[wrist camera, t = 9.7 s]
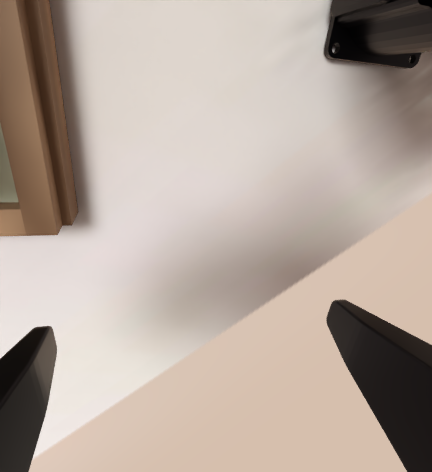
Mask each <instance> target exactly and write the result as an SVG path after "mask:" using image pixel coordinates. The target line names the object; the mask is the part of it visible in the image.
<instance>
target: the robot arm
mask: <svg viewBox="0 0 432 472" xmlns="http://www.w3.org/2000/svg"><path fill="white" fill-rule="evenodd" d="M331 15H332V16H331V20H330V25H329V30H328V34H327V39H326V44H325V49H324V52H325V55H326V57H327V58H330V59H337V60H345V61H352V62H360V63H367V64H375V65H382V66H390V67H397V68H413V67H414V66H415V65H416V64H417V63H418V61H419V58H420V55H421V52H429V51H432V0H333V1H332V6H331ZM334 44H335V46H336V50H335V52H334V53H333V52H332V46H333V45H334ZM410 56H411V60H410V62H409V58H410ZM327 325H328V327H329V329H330V332H331V334H332V336H333V338H334V340H335V343H336V345H337V347H338V349H339V351H340V353H341V355H342V358H343V360H344V362H345V364H346V366H347V367H348V370H349V371H350V373H351V375H352V377H353V378H354V380H355V382H356V384H357V385H358V387H359V389H360V390H361V392H362V394H363V396H364V397H365V399H366V401H367V403H368V404H369V406H370V408H371V409H372V411H373V413H374V415H375V416H376V418H377V420H378V422H379V423H380V425H381V427H382V429H383V430H384V432H385V433H386V435H387V437H388V439H389V441H390V443H391V444H392V446H393V448H394V449H395V451H396V453H397V455H398V456H399V458H400V460H401V461H402V463H403V465H404V467H405V469H406V470H407V472H432V345H430V344H428V343H426V342H425V341H423V340H421V339H419V338H417V337H415V336H413V335H411V334H409V333H407V332H406V331H404V330H402V329H400V328H398V327H396V326H394V325H392V324H390V323H388V322H387V321H385V320H382V319H381V318H379V317H377V316H375V315H373V314H371V313H369V312H367V311H366V310H364V309H362V308H360V307H358V306H356V305H354V304H352V303H350V302H348V301H346V300H335V301H333V302H332V304H331V306H330V309H329V312H328V315H327ZM56 355H57V346H56V341H55V337H54V332H53V329H52V327H51V326H42V327H35V328H34V329H32V330H31V331H30V332H29V333H28V334H27V335H26V336H25V337H23V338H22V339H21V340H20V341H19V342H18V343H17V344H16V345H15V346H14V347H13V348H11V349H10V350H9V351H8V352H7V353H6V354H5V355H4V356H3V357H2V358H1V359H0V472H28V471H29V468H30V465H31V461H32V458H33V455H34V451H35V448H36V444H37V441H38V438H39V434H40V431H41V428H42V424H43V421H44V417H45V414H46V410H47V405H48V400H49V395H50V389H51V383H52V378H53V372H54V366H55V361H56Z"/></svg>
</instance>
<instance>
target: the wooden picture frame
mask: <svg viewBox="0 0 432 472" xmlns="http://www.w3.org/2000/svg"><path fill="white" fill-rule="evenodd" d="M77 213H78V207H77V200H76V193H75V186H74V178H73V171H72V164H71V156H70V149H69V142H68V134H67V127H66V120H65V112H64V105H63V98H62V91H61V83H60V76H59V69H58V61H57V54H56V47H55V39H54V32H53V25H52V17H51V10H50V3H49V0H0V236H31V235H58V233H59V231H60V229H61V227H62V225H72V224H73V222H74V220H75V217H76V215H77Z"/></svg>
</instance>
